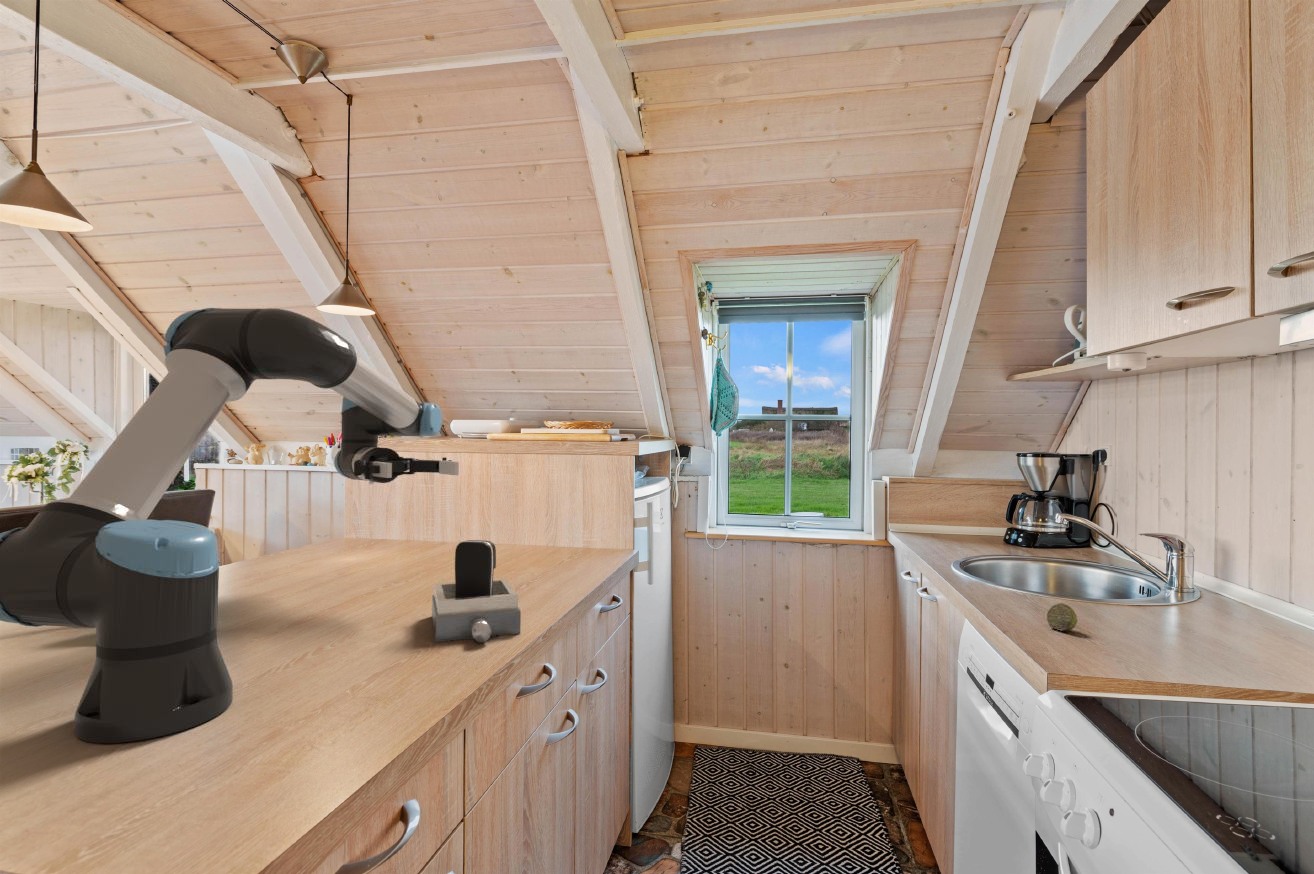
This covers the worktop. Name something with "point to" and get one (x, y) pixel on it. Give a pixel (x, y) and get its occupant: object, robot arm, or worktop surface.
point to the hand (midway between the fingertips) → (424, 469)
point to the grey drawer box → (475, 613)
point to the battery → (474, 568)
